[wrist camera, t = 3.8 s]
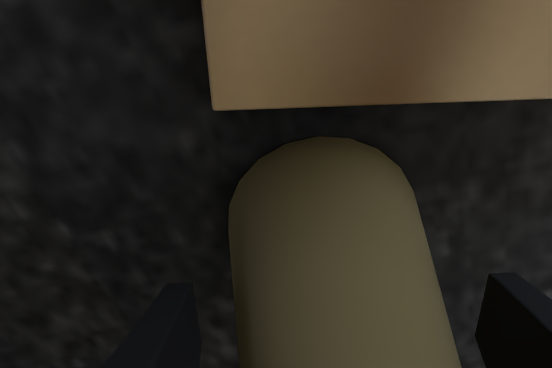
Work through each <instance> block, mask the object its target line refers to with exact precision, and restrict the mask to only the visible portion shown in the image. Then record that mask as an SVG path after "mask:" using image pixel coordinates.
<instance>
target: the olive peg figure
mask: <svg viewBox="0 0 552 368" xmlns="http://www.w3.org/2000/svg"><path fill="white" fill-rule="evenodd" d="M228 232H229V245H230V257H231V270H232V282H233V295H234V307H235V320H236V332H237V344H238V357H239V368H461V364H460V361H459V357H458V353H457V350H456V346H455V342H454V339H453V335H452V331H451V328H450V324H449V320H448V316H447V313H446V309H445V305H444V302H443V298H442V294H441V291H440V287H439V283H438V280H437V276H436V272H435V269H434V265H433V261H432V258H431V254H430V250H429V246H428V243H427V239H426V235H425V232H424V228H423V224H422V221H421V217H420V213H419V210H418V206H417V202H416V199H415V195H414V191H413V189H412V188H411V186H410V184H409V182H408V180H407V178H406V177H405V175H404V173H403V171H402V169H401V168H400V167H399V166H398V165H397V164H395V163H394V162H393V161H392V160H391V159H390V158H388V157H387V156H386V155H385V154H384V153H382V152H381V151H380V150H379V149H376V148H374V147H371V146H369V145H366V144H364V143H361V142H358V141H356V140H353V139H351V138H338V137H322V136H316V137H312V138H308V139H303V140H299V141H295V142H290V143H286V144H284V145H283V146H281V147H279V148H277V149H276V150H274V151H272V152H270V153H269V154H267V155H265V156H263V157H262V158H260V159H259V160H258V161H257V162H256V163H255V164H254V165H253V166H252V167H251V168H250V170H249V171H248V172H247V173H246V174H245V175H244V176H243V177H242V178H241V179H240V181H239V183H238V185H237V188H236V190H235V192H234V195H233V197H232V200H231V202H230V204H229V226H228Z"/></svg>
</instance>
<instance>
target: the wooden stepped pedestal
mask: <svg viewBox="0 0 552 368" xmlns="http://www.w3.org/2000/svg"><path fill="white" fill-rule="evenodd" d="M201 6H202V15H203V25H204V35H205V44H206V54H207V64H208V73H209V83H210V93H211V102H212V108H213V110H215V111H224V110H251V109H279V108H307V107H335V106H362V105H390V104H418V103H446V102H473V101H501V100H529V99H552V0H201Z"/></svg>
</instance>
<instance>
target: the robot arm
mask: <svg viewBox="0 0 552 368" xmlns="http://www.w3.org/2000/svg"><path fill="white" fill-rule="evenodd" d="M475 337H476V340H477V343H478V346H479V349H480V352H481V355H482V358H483V361H484V363H485V366H486V368H552V300H551V299H550V298H549V297H547V296H546V295H545V294H543V293H542V292H541V291H539V290H538V289H537V288H535V287H534V286H533V285H531V284H530V283H528V282H527V281H526V280H524V279H523V278H521V277H520V276H518V275H517V274H515V273H491V274H489V276H488V280H487V284H486V289H485V293H484V298H483V302H482V306H481V311H480V315H479V320H478V324H477V328H476V333H475ZM201 344H202V343H201V336H200V330H199V323H198V317H197V310H196V303H195V297H194V290H193V284H192V283H167V284H166V285H165V286H164V287H163V289H162V290H161V291H160V293H159V294H158V296H157V297H156V298H155V300H154V301H153V303H152V304H151V305H150V307H149V308H148V309H147V311H146V312H145V313H144V315H143V316H142V317H141V319H140V320H139V321H138V323H137V324H136V325H135V327H134V328H133V329H132V330H131V332H130V333H129V334H128V335H127V337H126V338H125V339H124V340H123V342H122V343H121V344H120V345H119V347H118V348H117V349H116V350H115V351H114V353H113V354H112V355H111V356H110V357H109V358H108V360H107V361H106V362H105V363H104V364H103V365H102V366H101V367H100V368H199V363H200V354H201Z"/></svg>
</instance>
